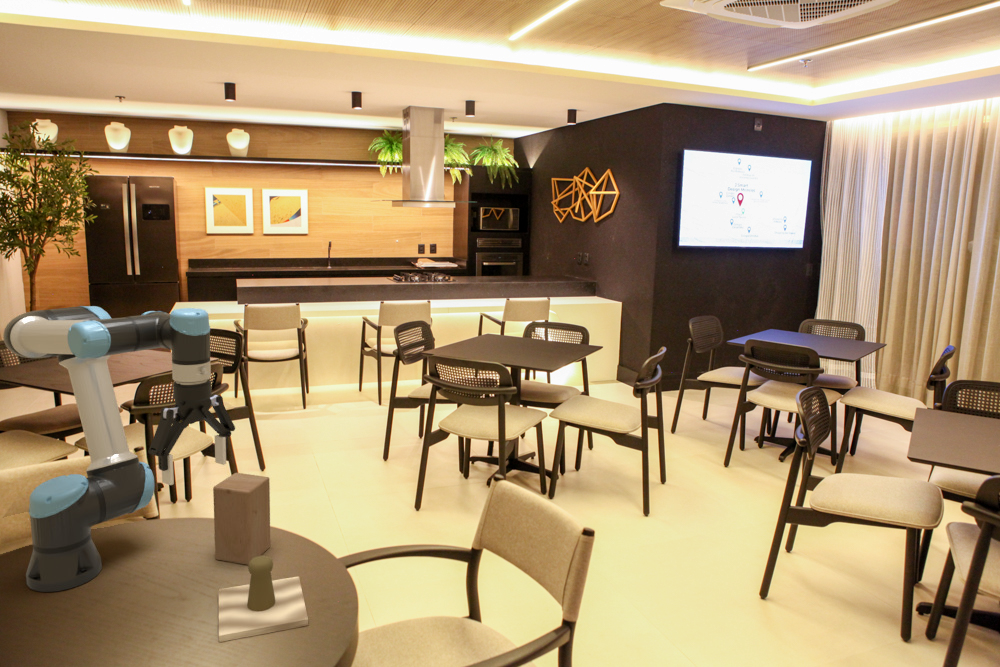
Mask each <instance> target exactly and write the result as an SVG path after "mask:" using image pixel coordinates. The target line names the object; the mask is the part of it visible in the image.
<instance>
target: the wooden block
mask: <svg viewBox="0 0 1000 667" xmlns="http://www.w3.org/2000/svg"><path fill="white" fill-rule="evenodd" d="M270 489H271V486H270V477H269V476H263V475H255V474H251V473H250V474H249V473H243V472H242V473H241V472H234V473H233V474H231V475H230V476H228V477H227V478H225V479H223V480H222V481H221V482H219V483H217V484H216V485H214V486H213V489H212V491H213V494H212V495H213V519H214V520H213V522H214V527H213V528H214V549H215V550H214V554H215V555H214V556H215V557H214V558H215V560H218V561H224V562H229V563H236V564H240V565H241V564H242V565H246V566H249V562H250V561H251V560H252V559H253V558H255V557H257V556H263V555H264V553H265V552H266V551H267V550H269V549H270V547H271V502H270V501H271V497H270V494H271V492H270V491H271V490H270Z"/></svg>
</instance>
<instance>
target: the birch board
mask: <svg viewBox="0 0 1000 667" xmlns="http://www.w3.org/2000/svg"><path fill="white" fill-rule="evenodd" d="M272 583H273V589H274V595H275V604H274V606H273V607H271V608H270V609H268V610H264V611H252V610H250V609H248V607H247V603H248V595H249V587H250V583H248V584H243V585H237V586H230V587H225V588H218V643H222V642H228V641H232V640H238V639H243V638H247V637H254V636H258V635H259V636H260V635H264V634H270V633H274V632H281V631H285V630H291V629H296V628H301V627H302V628H303V627H306V626H309V618H308V613H307V608H306V603H305V597H304V594H303V590H302V583H301V580H300V576H293V577H287V578H280V579H274V580H273V579H272Z"/></svg>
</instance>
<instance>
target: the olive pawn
mask: <svg viewBox="0 0 1000 667" xmlns="http://www.w3.org/2000/svg"><path fill="white" fill-rule="evenodd" d="M273 566H274V562H273V559H272V557H270V556H268V555H261V556H257V557H255V558H253V559H252V560H251V561H250V562H249V565H247V568H248V572H249V575H250V579H249V580H250V581H249V584H250V587H249V595H248V603H247V607H248V609H250V610H252V611H264V610H268V609H270V608H271V607H273V606H274V604H275V595H274V589H273V583H272V581H273V578H272V573H271V572H272V570H273V568H274V567H273Z"/></svg>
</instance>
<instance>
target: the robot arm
mask: <svg viewBox="0 0 1000 667" xmlns="http://www.w3.org/2000/svg"><path fill="white" fill-rule="evenodd" d="M209 316H210V315H209V313H208V311H206V309H202V308H195V307H193V308H191V307H184V308H176V309H174V310H172V311H171V312H170V313H167V312H164V311H161V310H157V311H155V310H149V311H146V312H144V313H141V315H140V314H139V315H131V316H124V317H114V318H112V317H111V315H110V314H109V313H108V312H107V311H106V310H104V309H103V308H102V307H100V306H96V305H92V306H91V305H88V306H87V305H86V306H85V305H79V306H71V307H62V308H61V307H59V308H51V309H39V310H32V311H31V310H30V311H28V312H23V313H22V314H19V315H17V316H16V317H13V318H12V319H11V320H10V321H9V322H8V323H7V324H6V325H5V328H4V330H3V337H2V338H3V342H4V344H5V346H6V348H7V349H8V350H9V351H10V352H11V353H12V354H14V355H16V356H18V357H21V358H27V359H43V358H44V359H45V358H52V357H57V362H58V365H60V366H62V367H64V368H65V369H67V370H68V371H67V372H68V375H69V380H70V383H71V387H72V391H73V395H74V400H75V403H76V407H77V411H78V415H79V418H80V421H81V426H82V430H83V434H84V439H85V442H86V447H87V449H88V454H89V459H90V464H89V465H88V466H87V468H86V470H85V471H86V476H85V475H83V474H78V473H71V474H68V475H65V474H64V475H60V476H56V477H53V478H50V479H47V480H46V481H44V482H42V483H40V484H39V485H37V486H36V487H35V488H34V489H33V490H32V491H31V493H30V494H29V499H28V500H29V504H28V505H29V507H28V514H29V521H30V529H31V542H32V553H31V556H30V560H29V563H28V567H27V570H26V573H25V577H26V585H27V587H28V588H29V589H30V590H33V591H35V592H40V593H41V592H44V593H51V592H52V593H53V592H60V591H66V590H69V589H73V588H75V587H79V586H82V585H83V584H86V583H88V582H90V581H91V580H94V579H95V577H97V576H98V575H99V574H100V572H101V570H102V568H103V567H102V565H103V564H102V557H101V555H100V553H99V551H98V549H97V547H96V545H95V543H94V541H93V539H92V527H93V526H96V525H99V524H102V523H105V522H108V521H110V520H113V519H116V518H120V517H121V516H122V517H123V516H125V515H128V514H129V515H130V514H133V513H134V512H136V511H138V510H141V509H143V508H145V507H146V506H148V505H149V504H150V503H151V501H152V498H153V496H154V494H155V477H154V474H153V471H152V469H151V468H150V465H149V464H148V463H146V462H144V461H140V460H139V456H138V455H137V454H135V453H133V452H131V451H130V448H129V445H128V441H127V437H126V432H125V428H124V423H123V421H122V416H121V413H120V409H119V406H118V405H119V404H118V401H117V396H116V393H115V390H114V389H115V388H114V385H113V381H112V377H111V374H110V369H109V365H108V360H109V359H110V357H111V356H115V355H118V354H119V355H120V354H126V353H135V352H141V351H147V350H155V349H159V348H161V349H166V350H171V361H172V362H171V363H172V364H171V365H172V367H171V368H172V370H171V372H172V374H171V375H172V377H171V378H172V380H173V381H174V382H173V383H172V388H173V389H172V390H173V392H172V394H173V399H174V402H175V404H174V407H171V408H170V407H169V408H168V407H162V408H161V410H160V419H159V421H158V425H157V427H156V429H155V432H154V435H153V438H152V441H151V444H150V446H149V448H148V454H150V455H152V456H155V457H157V460H158V470H160V471H161V482H162V483H163V484H166V485H169V486H173V485H174V484H175V481H174V480H175V478H174V461H173V460H174V456H173V454H172V453H171V452H172V450H173V448H174V446H175V445H176V443H177V441H178V440H179V438H180V437H181V436H182V433H183V431H184V430H185V429H187V427H189V425H192V424H195V423H196V422H202V421H205V422H206V423H207V424H208V426H210V427H211V428H212V429H213V430H214V431H215V432H216V433H217V434H216V435H215V434H214V458H215V460H214V462H215V463H216V464H220V465H223V466H225V465H226V464H227V449H228V448H229V447H228V446H229V442H228V441H229V439H228V438H229V437H231V435H232V432H235V430H236V425H235V424H234V422H233V421H232V419H231V416H230V415H229V413H228V411H227V409H226V407H225V405H224V399H223V396H221V395H217V394H212V381H211V380H210V379H211V377H212V373H211V372H212V370H211V369H212V368H211V365H212V364H211V326H210V319H209V318H210V317H209ZM211 406H212V409H213V410H214V412H215V414H216V416H217V417H215V415H214V414H213V412H211V410H210V409H211ZM217 418H218V419H217ZM170 453H171V454H170Z"/></svg>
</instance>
